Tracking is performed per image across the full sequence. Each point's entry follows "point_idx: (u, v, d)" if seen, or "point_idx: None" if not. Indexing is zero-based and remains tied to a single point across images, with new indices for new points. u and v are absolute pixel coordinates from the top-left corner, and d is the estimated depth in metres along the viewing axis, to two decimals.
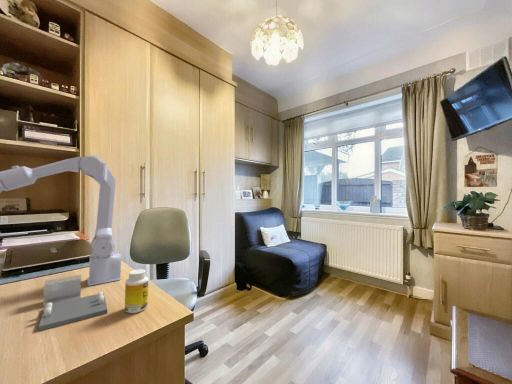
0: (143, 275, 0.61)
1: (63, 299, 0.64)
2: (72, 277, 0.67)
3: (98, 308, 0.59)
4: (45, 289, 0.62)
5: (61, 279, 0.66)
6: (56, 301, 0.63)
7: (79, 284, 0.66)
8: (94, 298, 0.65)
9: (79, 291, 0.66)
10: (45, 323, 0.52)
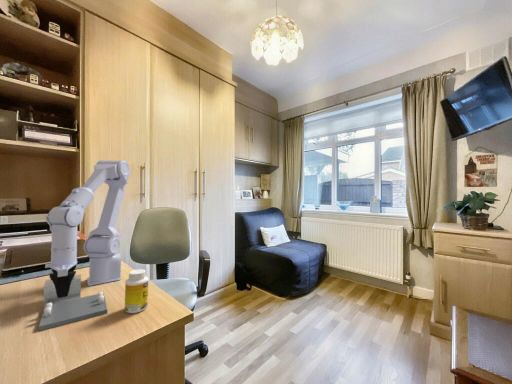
0: (143, 275, 0.61)
1: (63, 299, 0.64)
2: None
3: (98, 308, 0.59)
4: (45, 289, 0.62)
5: None
6: (56, 301, 0.63)
7: (79, 284, 0.66)
8: (94, 298, 0.65)
9: (79, 291, 0.66)
10: (45, 323, 0.52)
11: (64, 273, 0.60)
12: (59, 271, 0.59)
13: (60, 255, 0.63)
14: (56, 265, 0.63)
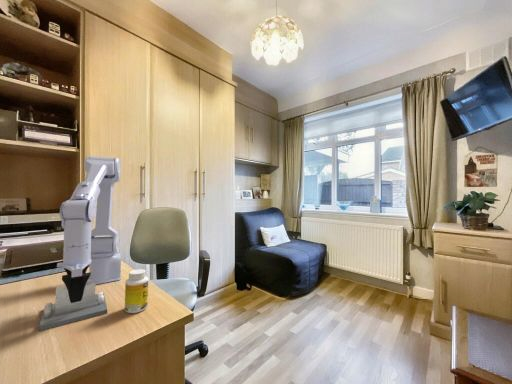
0: (143, 275, 0.61)
1: (76, 307, 0.58)
2: None
3: (98, 308, 0.59)
4: (57, 295, 0.56)
5: None
6: (69, 309, 0.57)
7: (93, 289, 0.60)
8: None
9: (93, 297, 0.60)
10: (45, 323, 0.52)
11: (79, 273, 0.54)
12: (73, 271, 0.53)
13: (74, 253, 0.57)
14: (69, 264, 0.57)
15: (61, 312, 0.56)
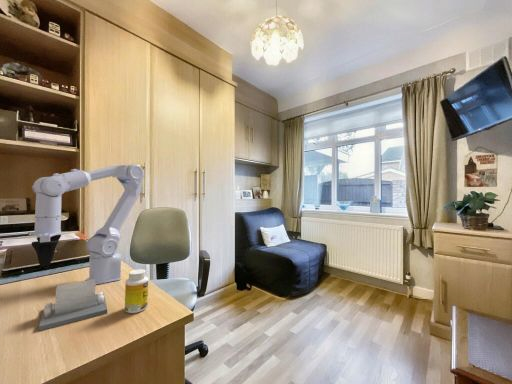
0: (143, 275, 0.61)
1: (76, 307, 0.58)
2: (85, 282, 0.61)
3: (98, 308, 0.59)
4: (57, 295, 0.56)
5: (74, 284, 0.60)
6: (69, 309, 0.57)
7: (93, 289, 0.60)
8: None
9: (93, 297, 0.60)
10: (45, 323, 0.52)
11: (46, 239, 0.61)
12: (41, 237, 0.61)
13: (44, 222, 0.64)
14: (39, 233, 0.64)
15: (61, 312, 0.56)
